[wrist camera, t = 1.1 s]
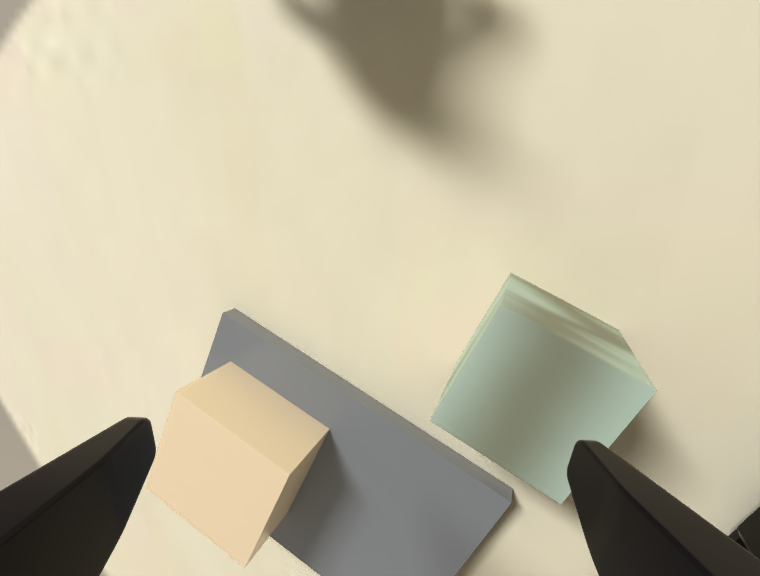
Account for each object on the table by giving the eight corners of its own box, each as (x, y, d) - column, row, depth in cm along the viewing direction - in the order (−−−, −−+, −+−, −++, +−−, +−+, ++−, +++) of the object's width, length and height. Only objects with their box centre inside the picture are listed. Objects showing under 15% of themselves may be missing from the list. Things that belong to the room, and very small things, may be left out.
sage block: (617, 329, 17) (656, 390, 12) (552, 416, 19) (560, 504, 14) (510, 272, 18) (501, 304, 13) (458, 359, 20) (430, 420, 15)
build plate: (512, 488, 21) (506, 573, 16) (409, 624, 25) (380, 721, 20) (234, 308, 24) (164, 334, 20) (184, 452, 28) (117, 501, 24)
